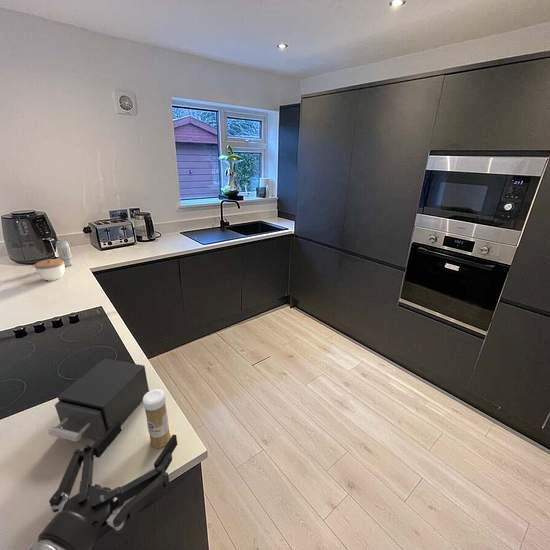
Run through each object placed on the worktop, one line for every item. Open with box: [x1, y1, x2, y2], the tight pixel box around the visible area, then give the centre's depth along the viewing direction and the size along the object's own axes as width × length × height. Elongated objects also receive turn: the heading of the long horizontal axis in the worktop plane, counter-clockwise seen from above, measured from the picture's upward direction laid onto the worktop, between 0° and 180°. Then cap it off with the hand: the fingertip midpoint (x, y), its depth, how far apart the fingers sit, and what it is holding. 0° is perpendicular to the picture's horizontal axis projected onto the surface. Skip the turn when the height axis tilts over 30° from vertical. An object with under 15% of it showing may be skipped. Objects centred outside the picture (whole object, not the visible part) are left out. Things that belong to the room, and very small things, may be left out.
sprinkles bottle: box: [142, 388, 172, 449], centre depth 65 cm, size 5×5×13 cm
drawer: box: [48, 400, 106, 442], centre depth 70 cm, size 18×11×8 cm, turn 167°
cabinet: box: [57, 357, 150, 432], centre depth 74 cm, size 15×13×10 cm
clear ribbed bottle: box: [55, 239, 74, 267], centre depth 172 cm, size 6×6×15 cm
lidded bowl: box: [33, 258, 66, 282], centre depth 154 cm, size 13×13×11 cm
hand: (146, 432), depth 62 cm, fingers open, 13 cm apart
